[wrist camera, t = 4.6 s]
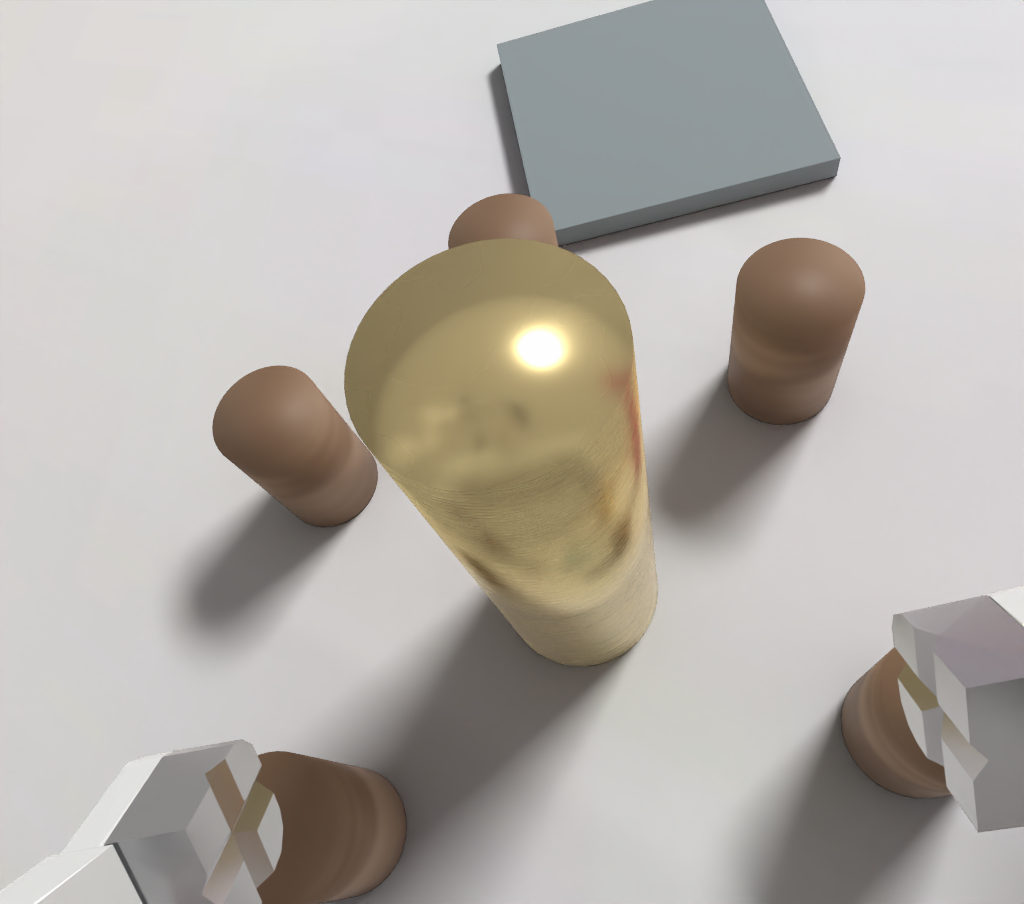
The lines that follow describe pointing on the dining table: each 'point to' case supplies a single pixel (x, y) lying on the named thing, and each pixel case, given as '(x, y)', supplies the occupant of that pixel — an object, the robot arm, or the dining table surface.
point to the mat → (660, 114)
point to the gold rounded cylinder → (517, 436)
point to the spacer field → (352, 481)
